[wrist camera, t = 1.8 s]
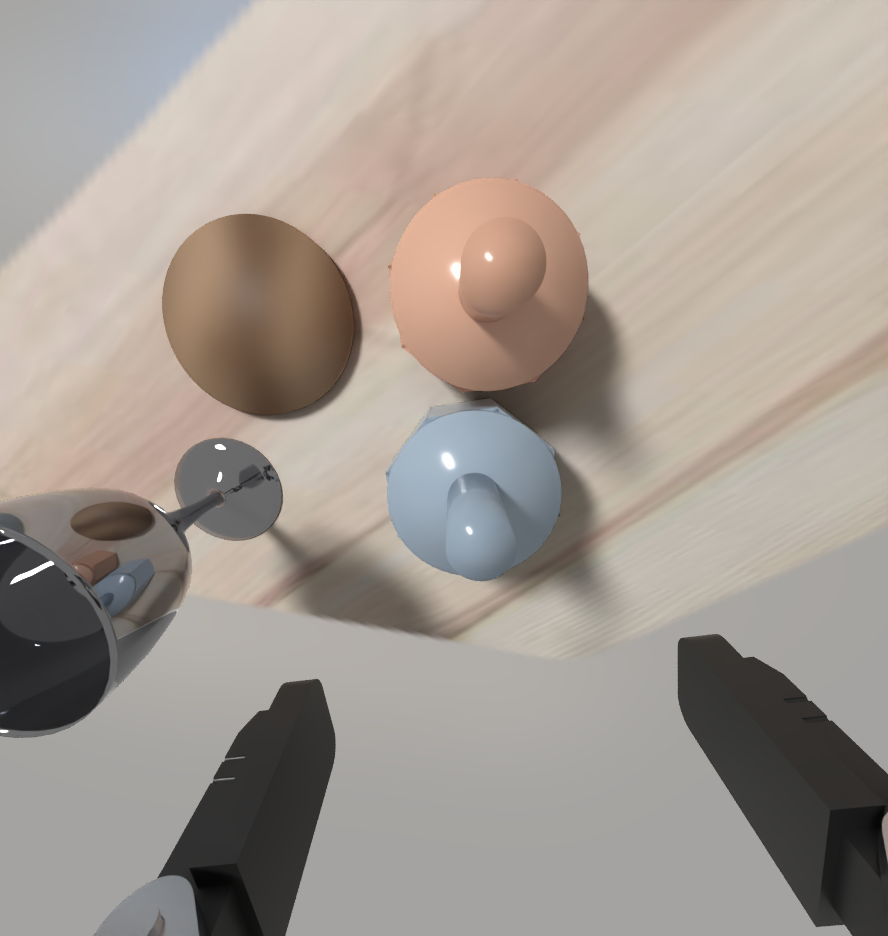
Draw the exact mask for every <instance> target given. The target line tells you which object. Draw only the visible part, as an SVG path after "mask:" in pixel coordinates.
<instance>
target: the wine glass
mask: <svg viewBox="0 0 888 936" xmlns="http://www.w3.org/2000/svg"><path fill="white" fill-rule="evenodd" d="M174 483H175V492H176V496H177V500H178V502H179V504H180V507H181V509H178V510H175V511H172V512H166V511H165V510H164V509H162V508H161V507H159V506H158V505H156V504H155V503H153V502H151V501H149V500H147V499H145V498H142V497H140V496H138V495H135V494H133V493H129V492H125V491H122V490H117V489H108V488H77V489H66V490H56V491H48V492H43V493H37V494H32V495H26V496H21V497H16V498H12V499H7V500H3V501H0V736H4V737H13V738H23V737H38V736H44V735H49V734H54V733H57V732H59V731H62V730H65V729H67V728H70V727H71V726H73V725H75V724H76V723H78V722H79V721H81V720H83V719H84V718H85V717H86V716H87V715H89V714H90V713H91V712H92V711H93V710H94V709H95V708H96V707H97V706H98V705H99V704H100V703H101V702H102V701H103V700H104V699H105V698H106V697H107V696H108V695H109V694H110V693H111V692H113V691H114V690H115V689H116V688H117V687H118V686H119V685H120V684H121V683H122V681H124V680H125V679H126V678H127V677H128V675H129V674H130V673H131V672H132V671H133V670H134V669H135V668H136V667H137V665H139V663H140V662H141V661H142V660H143V659H144V658H145V657H146V656H147V655H148V654H149V652H150V651H151V650H152V648H153V647H154V646H155V644H156V643H157V641H158V640H159V639H160V637H161V636H162V635H163V633H164V632H165V631H166V629H167V628H168V626H169V625H170V623H171V622H172V620H173V618H174V617H175V615H176V613H177V612H178V610H179V608H180V606H181V605H182V603H183V601H184V598H185V596H186V593H187V590H188V588H189V585H190V582H191V576H192V559H191V551H190V547H189V543H188V541H187V539H186V536H185V532H186V531H187V529H188V528H189V527H190V526H191V525H192V524H193V523H194V524H195V525H196V526H197V527H198V528H200V529H201V530H203V531H204V532H206V533H208V534H210V535H212V536H215V537H218V538H221V539H226V540H245V539H249V538H253V537H255V536H258V535H260V534H261V533H263V532H264V531H266V530H267V529H268V528H269V527H270V526H271V525H272V524H273V522H274V521H275V520H276V518H277V516H278V514H279V511H280V508H281V503H282V490H281V484H280V481H279V478H278V475H277V473H276V472H275V470H274V468H273V466H272V465H271V464H270V462H269V461H268V460H267V459H266V458H265V457H264V456H263V455H262V454H261V453H260V452H259V451H257V450H256V449H254V448H253V447H251V446H250V445H247V444H245V443H243V442H241V441H237V440H234V439H227V438H213V439H209V440H205V441H202V442H200V443H198V444H196V445H194V446H193V447H191V448H190V449H189V450H188V451H187V452H186V453H185V454H184V455H183V457H182V458H181V460H180V462H179V463H178V466H177V469H176V472H175V479H174Z"/></svg>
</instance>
